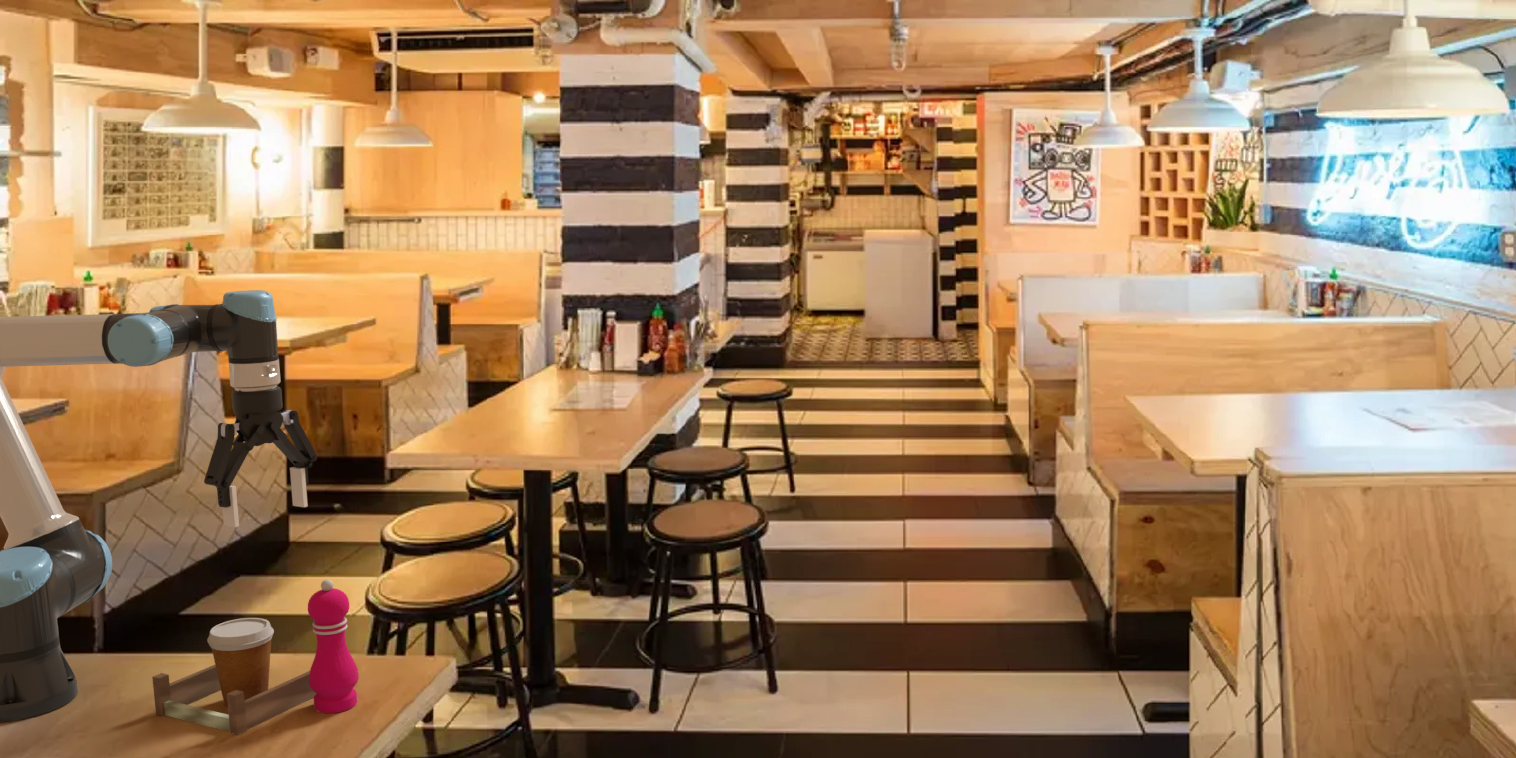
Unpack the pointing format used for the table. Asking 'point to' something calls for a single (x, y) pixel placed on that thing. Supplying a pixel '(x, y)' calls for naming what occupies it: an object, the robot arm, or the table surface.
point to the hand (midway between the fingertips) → (266, 515)
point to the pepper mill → (331, 652)
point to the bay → (241, 713)
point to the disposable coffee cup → (242, 655)
